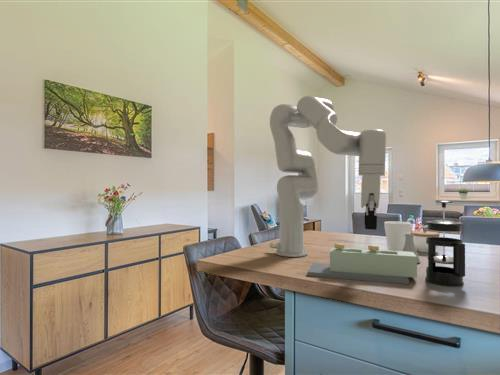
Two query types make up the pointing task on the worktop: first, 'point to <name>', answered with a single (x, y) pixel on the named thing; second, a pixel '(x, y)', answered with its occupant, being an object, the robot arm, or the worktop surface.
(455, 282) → the french press
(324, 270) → the board
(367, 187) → the robot arm
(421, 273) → the worktop surface
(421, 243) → the lidded jar
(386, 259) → the pale green slotted holder
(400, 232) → the foam cup
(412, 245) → the flask
